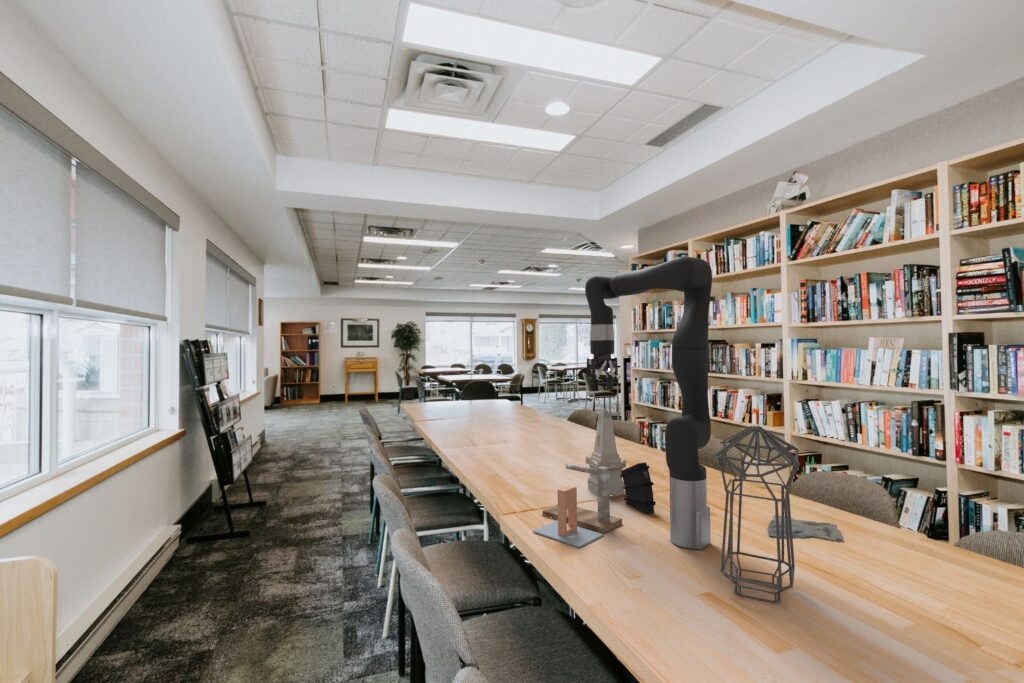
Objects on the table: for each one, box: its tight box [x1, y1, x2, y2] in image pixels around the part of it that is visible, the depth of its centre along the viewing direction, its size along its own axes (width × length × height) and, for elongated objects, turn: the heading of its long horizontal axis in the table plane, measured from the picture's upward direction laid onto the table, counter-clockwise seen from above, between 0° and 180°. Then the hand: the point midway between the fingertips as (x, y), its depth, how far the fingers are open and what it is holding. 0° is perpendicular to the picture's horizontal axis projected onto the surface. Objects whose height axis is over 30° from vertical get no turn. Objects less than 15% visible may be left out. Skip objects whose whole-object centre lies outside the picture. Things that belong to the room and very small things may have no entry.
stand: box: [541, 463, 623, 534], centre depth 146 cm, size 22×10×17 cm, turn 46°
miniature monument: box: [585, 407, 627, 496], centre depth 174 cm, size 10×10×30 cm
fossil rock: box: [767, 515, 845, 543], centre depth 135 cm, size 18×15×2 cm
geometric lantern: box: [712, 425, 801, 604], centre depth 102 cm, size 16×16×35 cm
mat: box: [532, 520, 604, 549], centre depth 135 cm, size 16×11×1 cm
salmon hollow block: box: [557, 484, 578, 536], centre depth 135 cm, size 2×6×12 cm, turn 137°
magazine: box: [620, 461, 657, 515], centre depth 156 cm, size 4×13×15 cm, turn 23°
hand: (602, 390), depth 154 cm, fingers open, 8 cm apart
